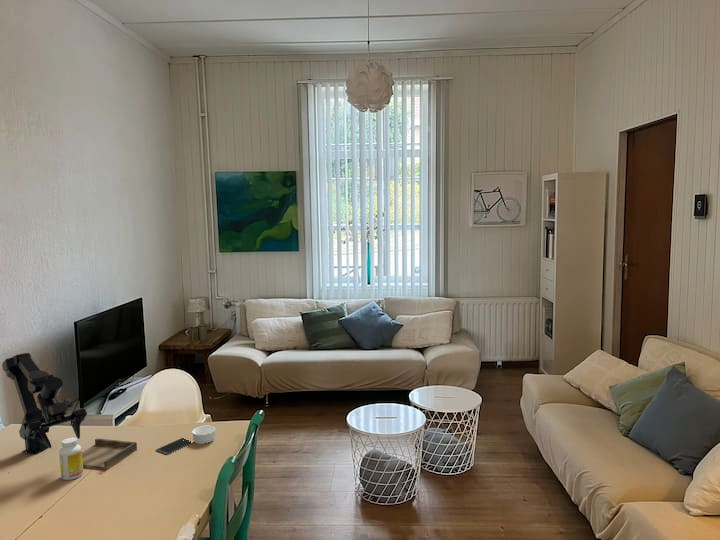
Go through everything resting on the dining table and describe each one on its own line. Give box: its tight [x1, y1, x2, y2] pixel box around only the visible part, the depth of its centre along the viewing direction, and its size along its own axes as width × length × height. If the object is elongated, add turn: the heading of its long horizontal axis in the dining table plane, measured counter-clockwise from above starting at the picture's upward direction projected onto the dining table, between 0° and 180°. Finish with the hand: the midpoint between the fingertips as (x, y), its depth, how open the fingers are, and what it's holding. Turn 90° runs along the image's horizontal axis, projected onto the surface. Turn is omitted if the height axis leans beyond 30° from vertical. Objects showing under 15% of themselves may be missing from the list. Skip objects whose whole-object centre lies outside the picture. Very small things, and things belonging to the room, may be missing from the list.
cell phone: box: [155, 437, 192, 456], centre depth 197 cm, size 7×14×1 cm, turn 148°
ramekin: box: [191, 425, 216, 445], centre depth 201 cm, size 9×9×4 cm
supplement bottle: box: [58, 436, 84, 481], centre depth 174 cm, size 7×7×13 cm
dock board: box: [82, 438, 138, 471], centre depth 188 cm, size 18×16×3 cm
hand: (65, 442), depth 176 cm, fingers open, 9 cm apart
